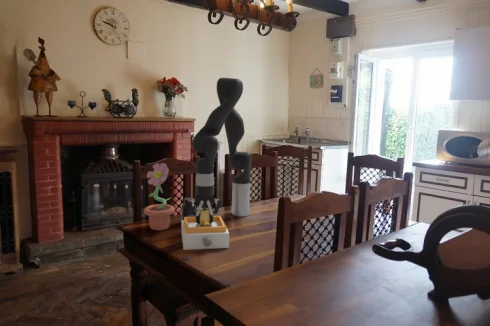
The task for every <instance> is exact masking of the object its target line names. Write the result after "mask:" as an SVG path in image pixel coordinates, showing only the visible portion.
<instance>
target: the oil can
mask: <svg viewBox="0 0 490 326" xmlns="http://www.w3.org/2000/svg"><path fill="white" fill-rule="evenodd" d="M199 227H210V211H209V208H207V206H205V207H203V208H201V211H200V213H199Z"/></svg>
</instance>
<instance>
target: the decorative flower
mask: <svg viewBox="0 0 490 326" xmlns="http://www.w3.org/2000/svg"><path fill="white" fill-rule="evenodd" d="M152 168H153V171H148V172H147V173H146V178H147V179H148V180H147V183H148V184H149V185H152V186H154V187H155V189H154V191H153V192H151V193H150V194H149V195H148V197H149V198H151V197H153V198H154V200H156V201H157V202H161V203H159V204H156V203H155V204H151V205H148V206H146V207H144V209H143V214H144V215H146V216H148V221H149V227H150V229H151V230H154V231H164V230H168V229H169V227H170V225H171V215H173V214H174V213H175V212H176V208H175V207H174V206H173V205H171V204H167V201H169V200H171V199H172V197H168V198H166V199H165V198H163V197H162V198H161V197H159V196H158V195H159V191H160V193H161V194H164V192H163V191H164V190H163V188H162V186H161V185H162V184H163V183H164V182H165V181H166V180H167V178H168V175H169V171H170V170H169V168H168V165H167V164H166V163H164V162H162V163H157V162H156V163H155V164H153V165H152Z"/></svg>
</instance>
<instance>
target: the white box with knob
mask: <svg viewBox="0 0 490 326" xmlns="http://www.w3.org/2000/svg"><path fill="white" fill-rule="evenodd" d="M180 222H181V226H180V229H181V230H180V231H181V240H182V248H183V250H184V251H188V250H209V249H211V250H212V249H229V248H230V232H229V230H228V228H227V225H226V224H225V222H224V220H223V218H222V216H221V215H213V223H212V224H210V227H199V224H197V223H196V217H184V220H181V219H180Z"/></svg>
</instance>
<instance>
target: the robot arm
mask: <svg viewBox="0 0 490 326" xmlns="http://www.w3.org/2000/svg"><path fill="white" fill-rule="evenodd" d="M243 84H244V83H243V81H242V80H241V79H239V78H233V77H232V78H231V77H220V78H219V79H218V80H217V82H216V94H217V98H218V101H219V105H218V106H217V107H216V108H214V109H213V110H212V111H211V113H210V114H209V115H208V118H207V120H206V122H205V124H204V126H202V128H200V130H199V131H198V132H197V133H195V135H194V137H193V138H192V139H193V140H192V143H191V144H192V149H193V150H194V151H195V152H197V153H205V154H206V155H205V156H204V157H202V158H197V160H196V174H195V197H194V198H193V199H192V200H188V203H189V206H190V209H191V213H192V214H193V215H196V223H197V224H199V213H200V211H201V208H203V207H205V206H207V208H209V211H210V224H212V223H213V216H215V215H217V214H218V213H219V209H220V206H221V204H222V200H221V199H220V198H215V196H214V195H215V176H214V174H215V173H214V172H215V171H214V168H215V167H214V166H215V165H214V163H215V161H216V156H217V153H218V150H219V140H218V138H217V136H219V135H220V134H221V132H222V131H221V130H222V129H223V128H224V129H225V130H224V131H225V134H226V135H225V136H226V139H227V144H228V154H229V164H230V167H231V168H232V169H234V170H243V172H242V173H240V174H238V175H235V176H233V177H232V186H231V187H232V190H231V191H232V195H231V196H232V197H231V198H232V199H231V200H232V201H231V215H232V216H235V217H248V216H249V215H250V199H251V176H252V164H253V163H252V161H253V156H252V153H251V152H248V151H238V150H237V147H238V145H239V144H240V142H241V140H242V139H243V138H244V135H245V125H244V124H245V123H244V120H243V119H244V118H243V117H242V116H241V114H240V113H239V112H238V110H237V109H236V108H235V107H236V105H237V104H238V102H239V100H240V99H241V98H242V95H243V92H244V85H243ZM223 126H224V127H223ZM195 203H196V205H197V206H196V211H194V209H193V206H192V205H194V204H195ZM214 203H215V207H214V210H213V208H212V205H213V204H214Z"/></svg>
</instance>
